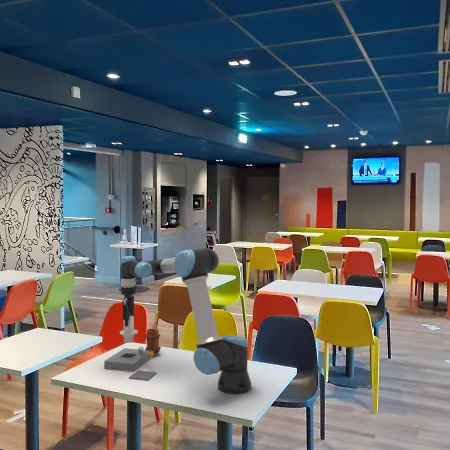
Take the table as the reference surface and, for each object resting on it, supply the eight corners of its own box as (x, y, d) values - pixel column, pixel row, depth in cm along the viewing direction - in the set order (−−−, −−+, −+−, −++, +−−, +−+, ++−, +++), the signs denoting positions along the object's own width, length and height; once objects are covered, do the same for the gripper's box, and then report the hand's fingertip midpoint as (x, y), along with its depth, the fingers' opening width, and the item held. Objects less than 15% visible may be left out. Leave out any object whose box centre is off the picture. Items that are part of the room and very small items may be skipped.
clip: (154, 358, 238) (154, 351, 238) (149, 359, 237) (149, 352, 237) (142, 349, 254) (142, 342, 253) (137, 349, 252) (137, 343, 252)
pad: (148, 380, 223) (148, 379, 223) (128, 378, 225) (128, 377, 225) (156, 373, 232) (156, 372, 232) (137, 371, 235) (137, 370, 235)
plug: (132, 344, 241) (132, 315, 241) (116, 343, 243) (116, 314, 243) (140, 339, 250) (140, 311, 249) (125, 338, 252) (124, 310, 252)
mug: (158, 358, 256) (158, 330, 255) (143, 357, 256) (143, 330, 255) (162, 349, 270) (162, 323, 270) (148, 349, 271) (148, 323, 270)
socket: (133, 371, 235) (133, 361, 234) (104, 368, 239) (104, 358, 239) (151, 357, 256) (151, 348, 256) (124, 355, 260) (124, 346, 260)
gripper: (130, 289, 236) (130, 335, 237) (140, 283, 254) (140, 326, 255) (115, 289, 237) (116, 335, 238) (126, 283, 255) (126, 326, 256)
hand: (128, 330), depth 246 cm, fingers closed on plug, 5 cm apart
